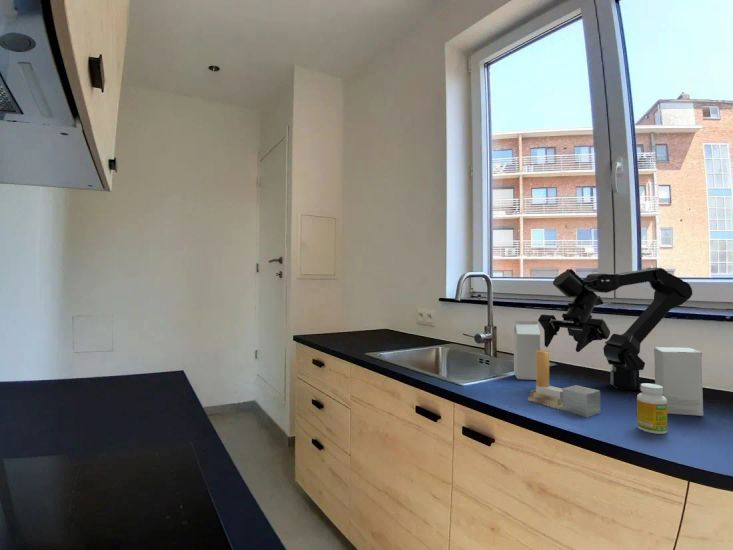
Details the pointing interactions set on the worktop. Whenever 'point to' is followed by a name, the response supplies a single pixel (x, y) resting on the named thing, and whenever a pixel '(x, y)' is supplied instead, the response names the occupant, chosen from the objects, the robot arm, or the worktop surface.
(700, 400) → the skincare box
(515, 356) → the milk carton
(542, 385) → the orange upright rod
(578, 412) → the socket
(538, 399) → the cradle
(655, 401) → the supplement bottle
